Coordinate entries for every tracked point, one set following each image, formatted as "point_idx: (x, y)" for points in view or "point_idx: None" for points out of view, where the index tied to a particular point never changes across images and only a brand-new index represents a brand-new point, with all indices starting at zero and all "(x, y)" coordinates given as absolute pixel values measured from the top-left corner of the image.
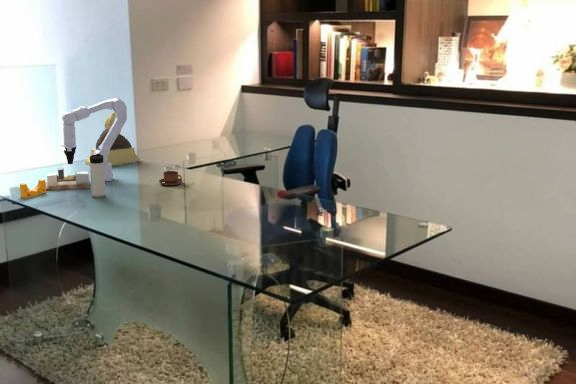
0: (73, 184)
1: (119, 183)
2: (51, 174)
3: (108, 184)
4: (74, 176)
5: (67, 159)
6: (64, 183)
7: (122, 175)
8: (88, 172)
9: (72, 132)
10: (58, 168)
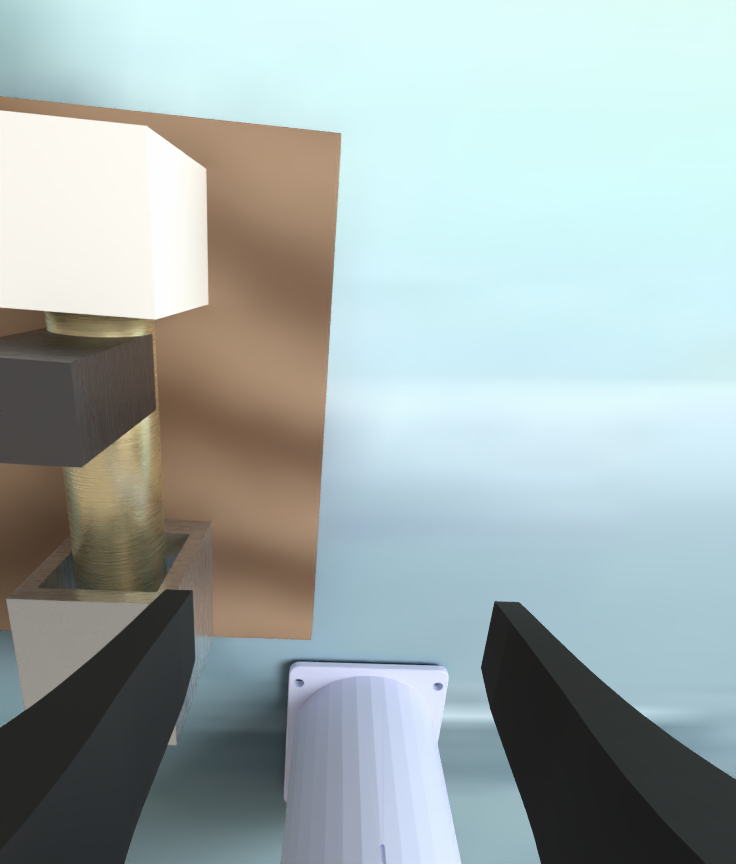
0: None
1: (190, 835)
2: (24, 204)
3: (168, 765)
4: (76, 556)
5: (90, 667)
6: (193, 384)
7: (476, 858)
8: (176, 734)
9: None
10: (62, 365)
